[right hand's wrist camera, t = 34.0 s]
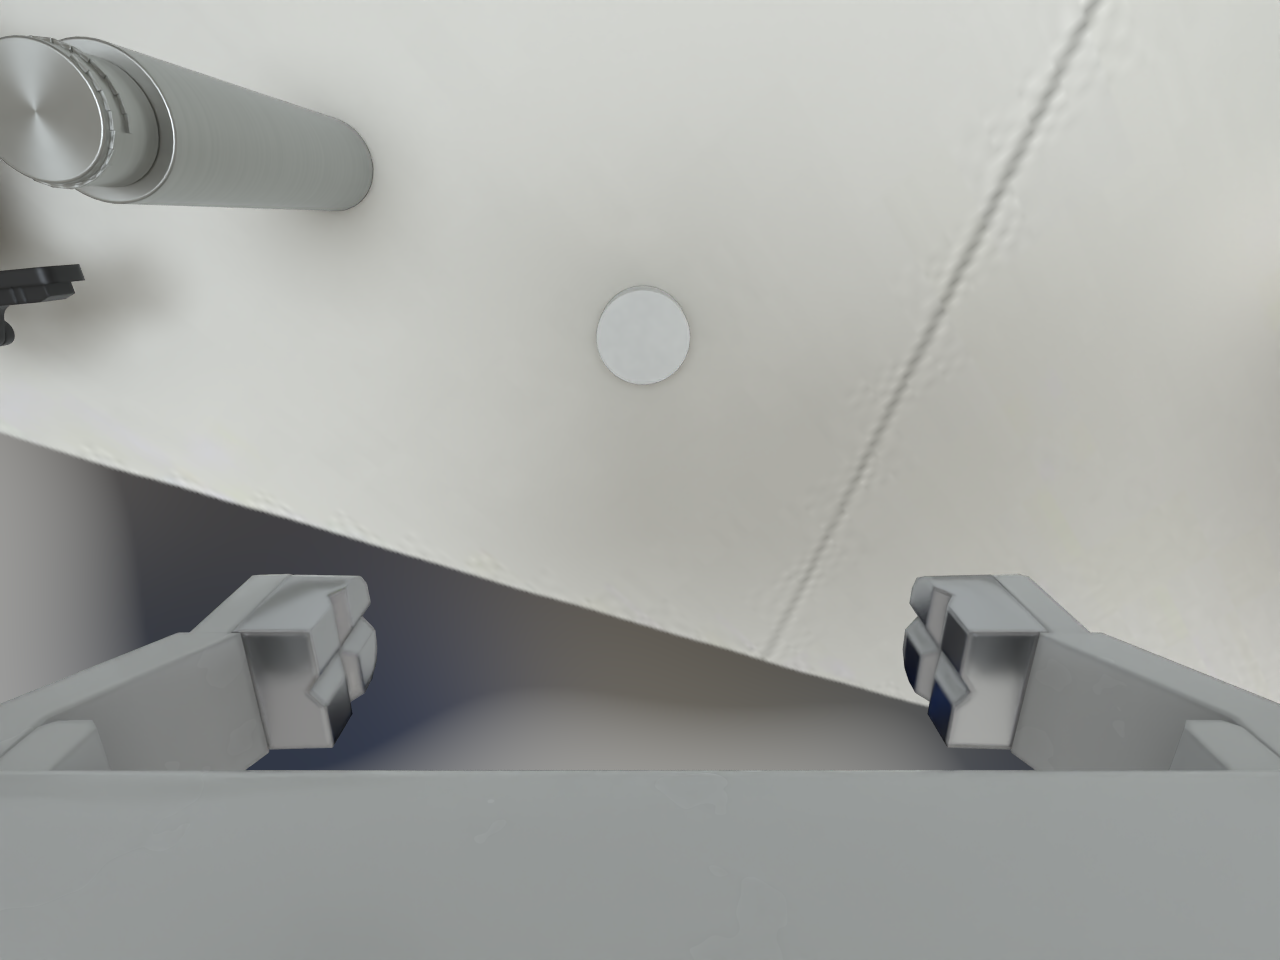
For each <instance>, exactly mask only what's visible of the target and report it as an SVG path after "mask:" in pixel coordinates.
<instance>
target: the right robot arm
mask: <svg viewBox="0 0 1280 960" xmlns="http://www.w3.org/2000/svg"><path fill="white" fill-rule="evenodd" d="M369 605H370V598H369V593H368V588H367V583H366V582H365V581H364V580H363V579H362V577H361V576H325V575H291V574H278V575H256V576H252V577H251V578H250V579H248V580H247V581H246V582H245V583H244V584H243V585H242V586H241V587H240V588H239V589H237V590H236V591H235V592H234V593H233V594H232V595H231V596H230V597H229V598H227V599H226V600H225V601H224V602H223V603H222V604H221V605H220V606H219V607H217V608H216V609H215V610H214V611H213V612H212V613H211V614H210V615H209V616H208V617H206V618H205V619H204V620H203V621H202V622H201V623H200V624H199V625H198V626H196V627H195V628H194V629H193V630H192V631H191V632H190V633H176V634H174V635H171V636H169V637H166V638H164V639H161V640H159V641H156V642H154V643H151V644H149V645H146V646H144V647H141V648H139V649H136V650H134V651H131V652H129V653H126V654H124V655H121V656H119V657H116V658H114V659H111V660H109V661H106V662H104V663H101V664H99V665H96V666H94V667H91V668H89V669H86V670H84V671H81V672H79V673H76V674H74V675H71V676H69V677H66V678H64V679H61V680H59V681H56V682H54V683H51V684H49V685H46V686H44V687H41V688H39V689H36V690H34V691H31V692H29V693H26V694H24V695H21V696H19V697H16V698H14V699H11V700H8V701H6V702H4V703H1V704H0V960H1280V704H1279V703H1276V702H1274V701H1271V700H1269V699H1266V698H1264V697H1261V696H1259V695H1256V694H1254V693H1251V692H1249V691H1246V690H1244V689H1241V688H1239V687H1236V686H1234V685H1231V684H1229V683H1226V682H1224V681H1221V680H1219V679H1216V678H1214V677H1211V676H1209V675H1206V674H1204V673H1201V672H1199V671H1196V670H1194V669H1191V668H1189V667H1186V666H1184V665H1181V664H1179V663H1176V662H1174V661H1171V660H1169V659H1166V658H1164V657H1161V656H1159V655H1156V654H1154V653H1151V652H1149V651H1146V650H1144V649H1141V648H1139V647H1136V646H1134V645H1131V644H1129V643H1126V642H1124V641H1121V640H1119V639H1116V638H1114V637H1111V636H1109V635H1106V634H1104V633H1090V632H1089V631H1088V630H1087V629H1086V628H1085V627H1084V626H1083V625H1081V624H1080V623H1079V622H1078V621H1077V620H1076V619H1075V618H1074V617H1073V616H1071V615H1070V614H1069V613H1068V612H1067V611H1066V610H1065V609H1064V608H1063V607H1062V606H1060V605H1059V604H1058V603H1057V602H1056V601H1055V600H1054V599H1053V598H1052V597H1051V596H1049V595H1048V594H1047V593H1046V592H1045V591H1044V590H1043V589H1042V588H1041V587H1039V586H1038V585H1037V584H1036V583H1035V582H1034V581H1033V580H1032V579H1031V578H1030V577H1028V576H1025V575H1021V574H1008V575H958V576H924V577H918V578H916V581H915V583H914V585H913V587H912V592H911V597H910V605H911V606H912V608H913V609H914V611H915V613H916V614H917V616H918V617H917V618H916V619H915V620H914V621H913V622H912V623H911V624H910V625H909V626H908V627H907V628H906V629H905V636H904V644H903V657H904V667H905V671H906V674H907V677H908V680H909V682H910V684H911V686H912V688H913V689H914V691H915V693H917V694H918V695H920V696H921V697H923V698H925V699H926V700H928V701H930V703H929V709H928V715H929V717H930V719H931V720H932V722H933V724H934V725H935V727H936V729H937V730H938V732H939V734H940V736H941V737H942V739H943V741H944V742H945V744H946V746H947V747H948V748H985V749H1011V752H1012V753H1013V754H1014V755H1016V756H1017V757H1018V758H1020V759H1021V760H1022V761H1024V762H1025V763H1027V764H1028V765H1029V766H1031V767H1032V768H1033V769H1035V770H246V769H247V768H248V767H250V766H251V765H252V764H254V763H255V762H256V761H258V760H259V759H260V758H262V757H263V756H265V755H266V754H267V753H268V752H269V750H268V749H293V748H330V747H333V746H334V744H335V742H336V741H337V739H338V737H339V736H340V734H341V732H342V731H343V729H344V727H345V726H346V724H347V722H348V720H349V719H350V717H351V715H352V709H351V703H350V702H351V701H352V700H354V699H355V698H357V697H359V696H360V695H362V694H363V693H365V691H366V689H367V688H368V686H369V684H370V682H371V680H372V678H373V673H374V669H375V665H376V661H377V641H376V635H375V629H374V628H373V627H372V626H371V625H370V624H369V623H368V622H367V621H366V620H365V619H364V618H363V617H362V616H363V614H364V613H365V611H366V609H367V608H368V606H369Z"/></svg>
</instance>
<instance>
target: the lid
mask: <svg viewBox="0 0 1280 960" xmlns="http://www.w3.org/2000/svg"><path fill="white" fill-rule="evenodd" d="M596 341H597V348H598V352H599V354H600V357H601V359H602V361H603V362H604V364H605V365H606V367H607V368H608V369H609V370H610V371H611V372H612V373H613V374H614V375H616V376H617V377H618V378H620V379H622V380H624V381H627V382H629V383H633V384H641V385H645V384H653V383H657V382H660V381H662V380H664V379H666V378H668V377H669V376H671V375H672V374H673V373H674V372H676V370H677V369H678V368H679V367H680V366H681V364H682V363H683V361H684V359H685V358H686V355H687V353H688V349H689V344H690V331H689V325H688V322H687V319H686V317H685V315H684V313H683V311H682V309H681V307H680V305H679V304H678V303H677V301H676V300H675V299H674V298H673V297H672V296H670V295H669V294H668V293H666V292H664V291H663V290H661V289H658V288H655V287H650V286H636V287H631V288H628V289H626V290H624V291H622V292H620V293H619V294H617V295H616V296H615V297H613V298H612V299H611V300H610V302H609V303H608V304H607V306H606V307H605V309H604V311H603V313H602V315H601V318H600V320H599V323H598V327H597V334H596Z"/></svg>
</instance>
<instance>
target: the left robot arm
mask: <svg viewBox="0 0 1280 960" xmlns="http://www.w3.org/2000/svg"><path fill="white" fill-rule="evenodd" d="M81 280H85V279H84V276H83V273H82V270H81V268H80V265H79V264H74V265H61V266H48V267H37V268H26V269H16V270H5V271H0V346H3V345H8V344H11V343H12V342H13V340H14V337H15V334H14V331H13V329H12V327H11V326H10V325H9V324H8V323H7V322H6V321H4V312H5V310H6V308H7V307H8V306H9V305H15V304H26V303H36V302H45V301H52V300H60V299H66V298H68V297H69V296H71V295H73V294H74V293H75V292H74V289H73V287H72V284H71V282H72V281H81Z"/></svg>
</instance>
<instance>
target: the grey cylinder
mask: <svg viewBox="0 0 1280 960" xmlns="http://www.w3.org/2000/svg"><path fill="white" fill-rule="evenodd" d="M0 158H1V159H2V160H3V161H4V162H6V163H7V164H8V165H9V166H11V167H12V168H14V169H15V170H17V171H18V172H20V173H22V174H24V175H25V176H28V177H30V178H32V179H34V181H37V182H40V183H43V184H45V185H48V186H51V187H56V188H66V189H76V190H78V191H79V192H81V193H83V194H85V195H87V196H89V197H91V198H94V199H96V200H100V201H103V202H108V203H114V204H143V205H174V206H205V207H235V208H266V209H297V210H328V211H340V210H346V209H349V208H351V207H353V206H355V205H357V204H358V203H359V202H360V201H361V200H362V199H363V198H364V197H365V196H366V194H367V192H368V190H369V188H370V185H371V182H372V176H373V166H372V160H371V156H370V153H369V150H368V148H367V146H366V144H365V142H364V141H363V139H362V138H361V137H360V135H359V134H358V133H357V132H356V131H355V130H354V129H353V128H352V127H351V126H349V125H348V124H346V123H345V122H343V121H341V120H339V119H336V118H333V117H330V116H327V115H324V114H321V113H318V112H315V111H312V110H309V109H306V108H303V107H300V106H297V105H294V104H291V103H288V102H285V101H282V100H279V99H276V98H273V97H270V96H267V95H264V94H261V93H258V92H255V91H252V90H249V89H246V88H243V87H240V86H237V85H234V84H231V83H228V82H225V81H222V80H219V79H216V78H213V77H210V76H207V75H204V74H201V73H198V72H195V71H192V70H189V69H186V68H183V67H180V66H177V65H174V64H171V63H168V62H166V61H163V60H160V59H157V58H154V57H151V56H148V55H145V54H142V53H139V52H136V51H133V50H130V49H127V48H124V47H121V46H118V45H115V44H112V43H109V42H106V41H103V40H100V39H96V38H90V37H69V38H64V39H61V40H56V39H53V38H48V37H38V36H19V35H13V36H5V37H2V38H0Z"/></svg>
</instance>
